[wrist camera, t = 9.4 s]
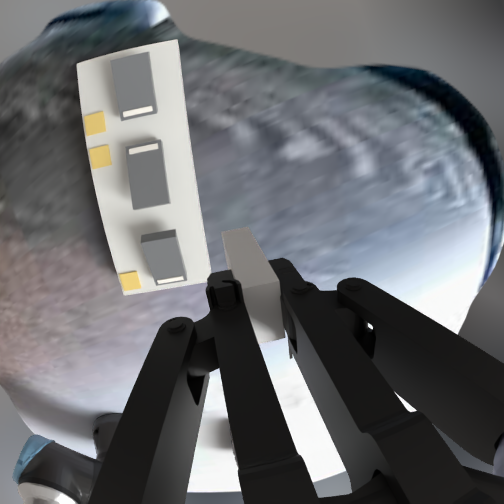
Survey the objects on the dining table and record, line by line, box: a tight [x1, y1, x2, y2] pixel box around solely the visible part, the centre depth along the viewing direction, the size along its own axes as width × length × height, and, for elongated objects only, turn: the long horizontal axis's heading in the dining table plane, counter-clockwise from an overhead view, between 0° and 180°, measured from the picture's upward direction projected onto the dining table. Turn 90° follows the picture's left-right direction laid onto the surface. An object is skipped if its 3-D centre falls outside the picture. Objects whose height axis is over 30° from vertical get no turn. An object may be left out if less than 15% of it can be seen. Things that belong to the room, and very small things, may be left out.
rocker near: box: [110, 51, 158, 121], centre depth 28 cm, size 4×7×2 cm, turn 6°
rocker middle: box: [125, 139, 171, 210], centre depth 32 cm, size 4×7×2 cm, turn 6°
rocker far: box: [141, 229, 187, 286], centre depth 36 cm, size 4×7×2 cm, turn 6°
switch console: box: [77, 40, 211, 296], centre depth 36 cm, size 12×30×6 cm, turn 6°
